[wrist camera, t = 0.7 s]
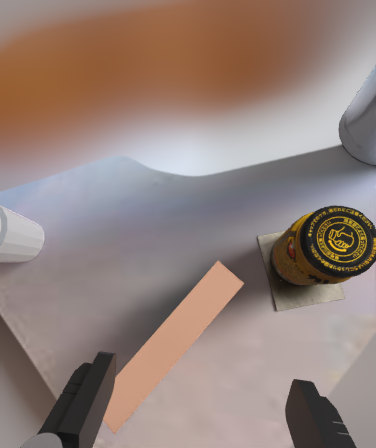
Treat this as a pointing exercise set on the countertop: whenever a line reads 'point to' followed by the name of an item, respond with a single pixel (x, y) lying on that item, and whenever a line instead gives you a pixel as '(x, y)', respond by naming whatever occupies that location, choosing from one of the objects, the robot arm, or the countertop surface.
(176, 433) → the countertop surface
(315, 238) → the condiment
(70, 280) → the countertop surface
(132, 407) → the tile
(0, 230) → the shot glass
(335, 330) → the countertop surface
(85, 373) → the robot arm
